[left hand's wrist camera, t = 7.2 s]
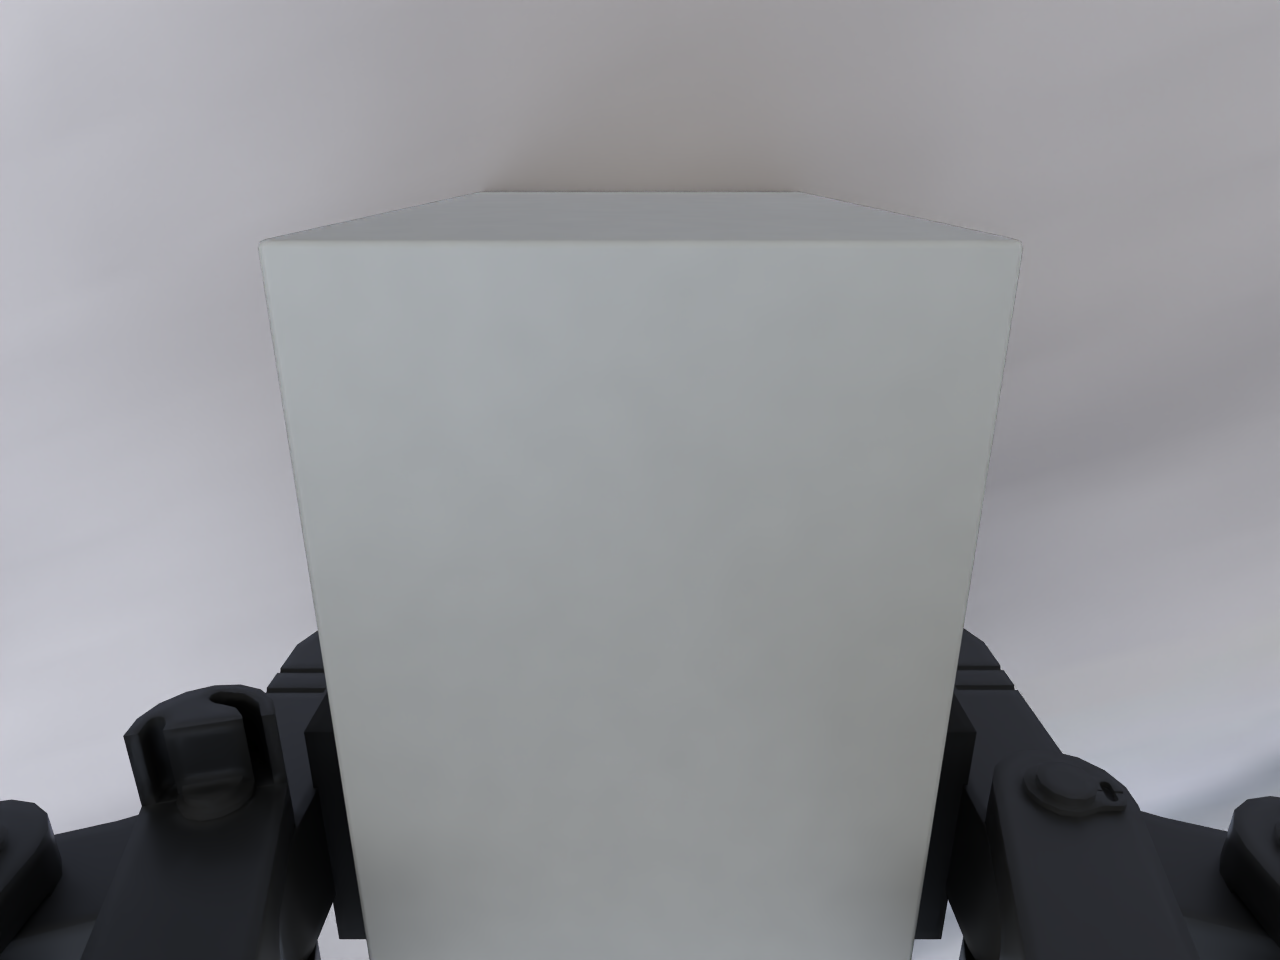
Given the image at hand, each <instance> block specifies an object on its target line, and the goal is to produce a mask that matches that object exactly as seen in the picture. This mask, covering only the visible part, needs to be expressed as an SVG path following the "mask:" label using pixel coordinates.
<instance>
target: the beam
mask: <svg viewBox="0 0 1280 960" xmlns="http://www.w3.org/2000/svg"><path fill="white" fill-rule="evenodd" d="M258 251H259V257H260V263H261V270H262V276H263V283H264V289H265V295H266V302H267V308H268V315H269V321H270V327H271V334H272V340H273V346H274V353H275V359H276V366H277V372H278V378H279V385H280V391H281V397H282V404H283V410H284V417H285V423H286V429H287V436H288V442H289V448H290V455H291V461H292V468H293V474H294V480H295V487H296V493H297V500H298V506H299V512H300V519H301V525H302V531H303V538H304V544H305V551H306V557H307V563H308V570H309V576H310V582H311V589H312V595H313V602H314V608H315V614H316V621H317V627H318V634H319V640H320V646H321V653H322V659H323V665H324V672H325V678H326V685H327V691H328V697H329V704H330V710H331V716H332V723H333V729H334V736H335V742H336V748H337V755H338V761H339V768H340V774H341V780H342V787H343V793H344V799H345V806H346V812H347V819H348V825H349V831H350V838H351V844H352V850H353V857H354V863H355V870H356V876H357V882H358V889H359V895H360V902H361V908H362V914H363V921H364V927H365V933H366V940H367V946H368V953H369V959H370V960H911V957H912V951H913V945H914V938H915V932H916V926H917V919H918V913H919V906H920V900H921V894H922V887H923V881H924V875H925V868H926V862H927V856H928V849H929V843H930V837H931V830H932V824H933V817H934V811H935V805H936V798H937V792H938V786H939V779H940V773H941V767H942V760H943V754H944V747H945V741H946V735H947V728H948V722H949V716H950V709H951V703H952V697H953V690H954V684H955V678H956V671H957V665H958V658H959V652H960V646H961V639H962V633H963V627H964V620H965V614H966V608H967V601H968V595H969V589H970V582H971V576H972V569H973V563H974V557H975V550H976V544H977V538H978V531H979V525H980V519H981V512H982V506H983V500H984V493H985V487H986V480H987V474H988V468H989V461H990V455H991V449H992V442H993V436H994V430H995V423H996V417H997V411H998V404H999V398H1000V391H1001V385H1002V379H1003V372H1004V366H1005V360H1006V353H1007V347H1008V341H1009V334H1010V328H1011V321H1012V315H1013V309H1014V302H1015V296H1016V290H1017V283H1018V277H1019V271H1020V264H1021V258H1022V252H1023V246H1022V242H1020V241H1018V240H1016V239H1012V238H1008V237H1003V236H999V235H994V234H989V233H985V232H980V231H976V230H971V229H967V228H962V227H958V226H953V225H948V224H944V223H939V222H935V221H930V220H926V219H921V218H917V217H912V216H908V215H903V214H898V213H894V212H889V211H885V210H880V209H876V208H871V207H867V206H862V205H858V204H853V203H848V202H844V201H839V200H835V199H830V198H826V197H821V196H817V195H812V194H807V193H803V192H477V193H473V194H468V195H464V196H459V197H455V198H450V199H446V200H441V201H437V202H432V203H427V204H423V205H418V206H414V207H409V208H405V209H400V210H396V211H391V212H387V213H382V214H378V215H373V216H369V217H364V218H360V219H355V220H350V221H346V222H341V223H337V224H332V225H328V226H323V227H319V228H314V229H310V230H305V231H301V232H296V233H292V234H287V235H282V236H278V237H273V238H269V239H265V240H263V241H261V242H259V247H258Z"/></svg>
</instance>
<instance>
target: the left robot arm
mask: <svg viewBox="0 0 1280 960" xmlns="http://www.w3.org/2000/svg"><path fill="white" fill-rule="evenodd" d="M123 737H124V740H125V744H126V748H127V752H128V756H129V759H130V763H131V767H132V771H133V774H134V778H135V782H136V786H137V789H138V793H139V797H140V801H141V805H142V808H141V810H140V813H139V815H136V816H133V817H129V818H126V819H123V820H119V821H115V822H110V823H106V824H101V825H97V826H92V827H88V828H83V829H79V830H74V831H70V832H65V833H61V834H56V835H54V833H53V830H52V827H51V824H50V821H49V818H48V814H47V813H46V812H45V811H44V810H42V809H41V808H40V807H39V806H37V805H36V804H35V803H31V802H24V801H17V800H6V801H0V960H321V958H320V952H319V946H318V941H317V939H318V937H319V935H320V932H321V930H322V927H323V925H324V922H325V920H326V918H327V915H328V913H329V910H330V908H331V905H332V903H333V905H334V911H335V916H336V922H337V928H338V934H339V939H366V933H365V927H364V921H363V914H362V908H361V902H360V895H359V889H358V882H357V876H356V870H355V863H354V857H353V850H352V844H351V838H350V831H349V825H348V819H347V812H346V806H345V799H344V793H343V787H342V780H341V774H340V768H339V761H338V755H337V748H336V742H335V736H334V729H333V723H332V716H331V710H330V704H329V697H328V691H327V685H326V678H325V672H324V665H323V659H322V653H321V646H320V640H319V634H318V631H316V632H315V633H314V634H312V635H311V636H309V637H308V638H306V639H305V640H303V641H302V642H301V643H299V644H298V645H297V646H296V647H295V649H294V650H293V651H292V653H291V654H290V656H289V657H288V659H287V660H286V661H285V663H284V664H283V666H282V667H281V672H280V673H277V674H276V676H275V677H274V679H273V680H272V681H271V683H270V684H269V686H268V687H267V693H264V692H263V691H262V690H261V689H257V688H253V687H248V686H244V685H214V686H210V687H206V688H201V689H197V690H193V691H188V692H185V693H183V694H180V695H178V696H176V697H173V698H171V699H169V700H166V701H164V702H162V703H159V704H158V705H156V706H155V707H154V708H152V709H151V710H149V711H148V712H146V713H145V714H143V715H142V716H140V717H139V718H138V719H137V720H136V721H135V722H134V723H133V725H132V726H131V727H130V728H129V730H128V731H127V732H126V733H125V735H124V736H123ZM948 900H949V903H950V905H951V907H952V910H953V912H954V915H955V917H956V919H957V922H958V924H959V927H960V929H961V932H962V934H963V941H962V946H961V952H960V957H959V960H1280V797H1273V796H1268V797H1261V798H1254V799H1248V800H1246V801H1245V802H1244V803H1243V804H1241V805H1240V806H1239V807H1238V808H1236V809H1235V810H1234V813H1233V816H1232V820H1231V823H1230V826H1229V829H1228V832H1227V831H1222V830H1218V829H1213V828H1209V827H1204V826H1200V825H1195V824H1191V823H1186V822H1181V821H1177V820H1172V819H1168V818H1163V817H1160V816H1156V815H1153V814H1149V813H1146V812H1143V811H1140V809H1139V806H1138V804H1137V803H1136V802H1135V800H1134V799H1133V797H1132V796H1131V794H1130V793H1129V791H1128V790H1127V788H1126V787H1125V786H1124V785H1122V784H1121V783H1120V782H1119V781H1117V780H1116V779H1115V778H1114V777H1112V776H1111V775H1110V774H1108V773H1107V772H1106V771H1105V770H1103V769H1101V768H1099V767H1097V766H1094V765H1092V764H1090V763H1088V762H1086V761H1084V760H1082V759H1080V758H1077V757H1073V756H1070V755H1066V754H1062V752H1061V751H1060V749H1059V748H1058V746H1057V745H1056V744H1055V742H1054V741H1053V739H1052V738H1051V737H1050V735H1049V734H1048V732H1047V731H1046V730H1045V728H1044V727H1043V725H1042V724H1041V722H1040V721H1039V720H1038V718H1037V717H1036V715H1035V714H1034V713H1033V711H1032V710H1031V708H1030V707H1029V705H1028V704H1027V703H1026V701H1025V700H1024V698H1023V697H1022V696H1021V694H1020V693H1019V691H1018V690H1014V684H1013V683H1012V681H1011V680H1010V679H1009V677H1008V676H1007V674H1006V673H1005V672H1004V670H1001V669H1000V664H999V663H998V662H997V660H996V659H995V657H994V656H993V655H992V653H991V652H990V650H989V649H988V647H987V646H986V645H985V643H984V642H983V641H981V640H980V639H978V638H977V637H975V636H974V635H973V634H971V633H970V632H968V631H967V630H965V629H964V628H963V633H962V639H961V646H960V652H959V658H958V665H957V671H956V678H955V684H954V690H953V697H952V703H951V709H950V716H949V722H948V728H947V735H946V741H945V747H944V754H943V760H942V767H941V773H940V779H939V786H938V792H937V798H936V805H935V811H934V817H933V824H932V830H931V837H930V843H929V849H928V856H927V862H926V868H925V875H924V881H923V887H922V894H921V900H920V906H919V913H918V919H917V926H916V932H915V938H914V939H941V937H942V931H943V925H944V919H945V913H946V908H947V902H948Z"/></svg>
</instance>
